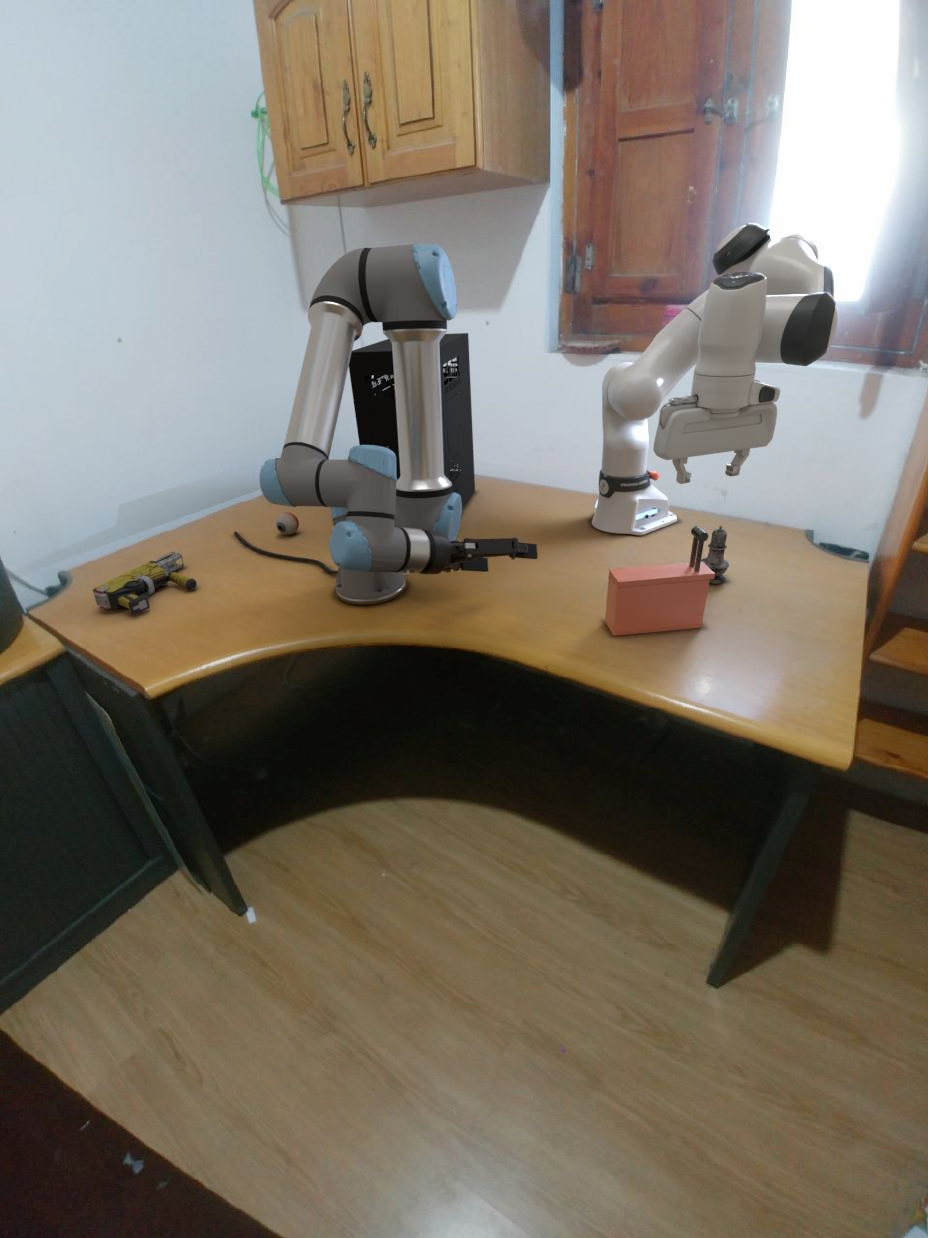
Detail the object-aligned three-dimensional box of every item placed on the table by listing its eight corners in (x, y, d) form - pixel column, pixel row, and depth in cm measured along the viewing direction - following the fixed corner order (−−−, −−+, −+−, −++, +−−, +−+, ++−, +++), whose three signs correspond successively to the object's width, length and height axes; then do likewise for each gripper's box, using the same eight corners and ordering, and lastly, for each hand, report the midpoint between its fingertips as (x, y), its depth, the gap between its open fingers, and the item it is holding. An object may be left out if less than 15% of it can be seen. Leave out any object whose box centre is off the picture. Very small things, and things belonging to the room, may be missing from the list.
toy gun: (220, 560, 144) (169, 549, 148) (142, 602, 124) (86, 589, 128) (223, 577, 146) (173, 566, 150) (147, 622, 126) (91, 608, 130)
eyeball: (273, 537, 164) (268, 516, 161) (287, 528, 169) (282, 508, 166) (291, 539, 161) (286, 518, 158) (305, 530, 166) (301, 510, 163)
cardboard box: (444, 537, 157) (431, 349, 135) (371, 534, 162) (346, 352, 139) (475, 491, 189) (468, 332, 166) (413, 489, 193) (398, 335, 171)
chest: (689, 613, 117) (697, 567, 112) (701, 627, 113) (709, 579, 108) (604, 621, 117) (608, 574, 112) (613, 635, 112) (617, 587, 107)
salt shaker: (728, 584, 127) (739, 531, 121) (699, 583, 128) (707, 530, 122) (724, 572, 132) (733, 520, 126) (695, 571, 133) (703, 519, 127)
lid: (701, 566, 112) (708, 522, 108) (714, 579, 108) (722, 533, 103) (608, 574, 112) (612, 530, 107) (617, 587, 107) (621, 541, 103)
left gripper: (382, 584, 112) (470, 587, 125) (467, 559, 92) (560, 566, 106) (379, 545, 112) (467, 552, 126) (464, 511, 93) (556, 524, 106)
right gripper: (673, 402, 89) (662, 492, 96) (789, 388, 94) (771, 476, 101) (650, 395, 95) (642, 481, 102) (761, 383, 99) (746, 466, 106)
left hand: (510, 558), depth 116 cm, fingers open, 13 cm apart
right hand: (707, 478), depth 101 cm, fingers open, 8 cm apart
